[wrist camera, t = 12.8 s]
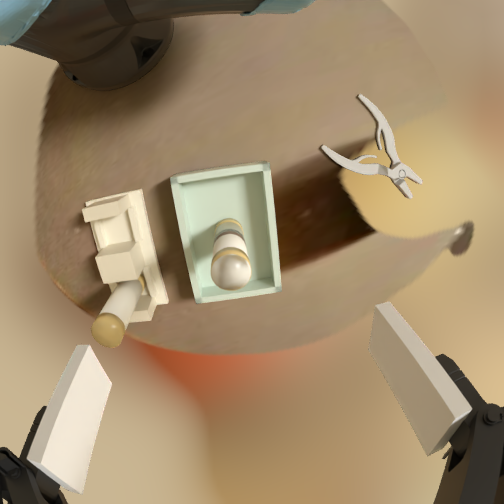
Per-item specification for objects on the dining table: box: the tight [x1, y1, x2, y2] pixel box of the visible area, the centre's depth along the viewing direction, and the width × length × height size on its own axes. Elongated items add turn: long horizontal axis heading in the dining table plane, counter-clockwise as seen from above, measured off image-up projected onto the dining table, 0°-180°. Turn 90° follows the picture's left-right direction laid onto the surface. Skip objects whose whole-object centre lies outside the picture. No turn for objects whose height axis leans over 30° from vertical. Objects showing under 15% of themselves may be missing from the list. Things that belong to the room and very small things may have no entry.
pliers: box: [321, 94, 423, 199], centre depth 34 cm, size 10×2×15 cm
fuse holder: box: [82, 189, 169, 322], centre depth 34 cm, size 16×8×5 cm, turn 7°
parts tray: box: [170, 161, 282, 304], centre depth 35 cm, size 16×11×4 cm
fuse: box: [91, 274, 146, 348], centre depth 32 cm, size 4×4×12 cm
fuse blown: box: [211, 218, 252, 291], centre depth 30 cm, size 4×4×12 cm
